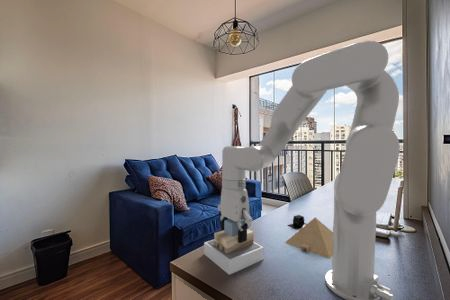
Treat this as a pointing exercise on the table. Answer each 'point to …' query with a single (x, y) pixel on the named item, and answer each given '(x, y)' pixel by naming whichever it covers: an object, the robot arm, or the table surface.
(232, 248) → the pallet
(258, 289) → the table surface
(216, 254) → the white square tray
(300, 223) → the black block on base
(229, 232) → the light blue block
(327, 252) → the model pyramid
